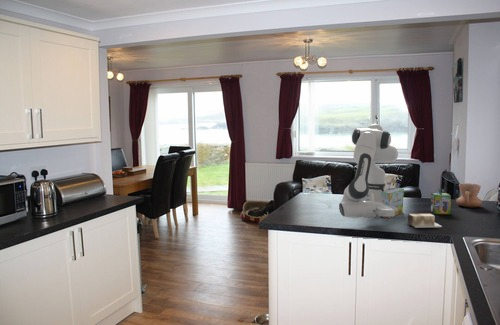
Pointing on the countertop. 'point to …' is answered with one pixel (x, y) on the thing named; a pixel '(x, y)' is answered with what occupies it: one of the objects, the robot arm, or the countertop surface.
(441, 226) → the mat
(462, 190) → the ceramic jug
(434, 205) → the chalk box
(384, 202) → the snack box
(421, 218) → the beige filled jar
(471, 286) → the countertop surface
